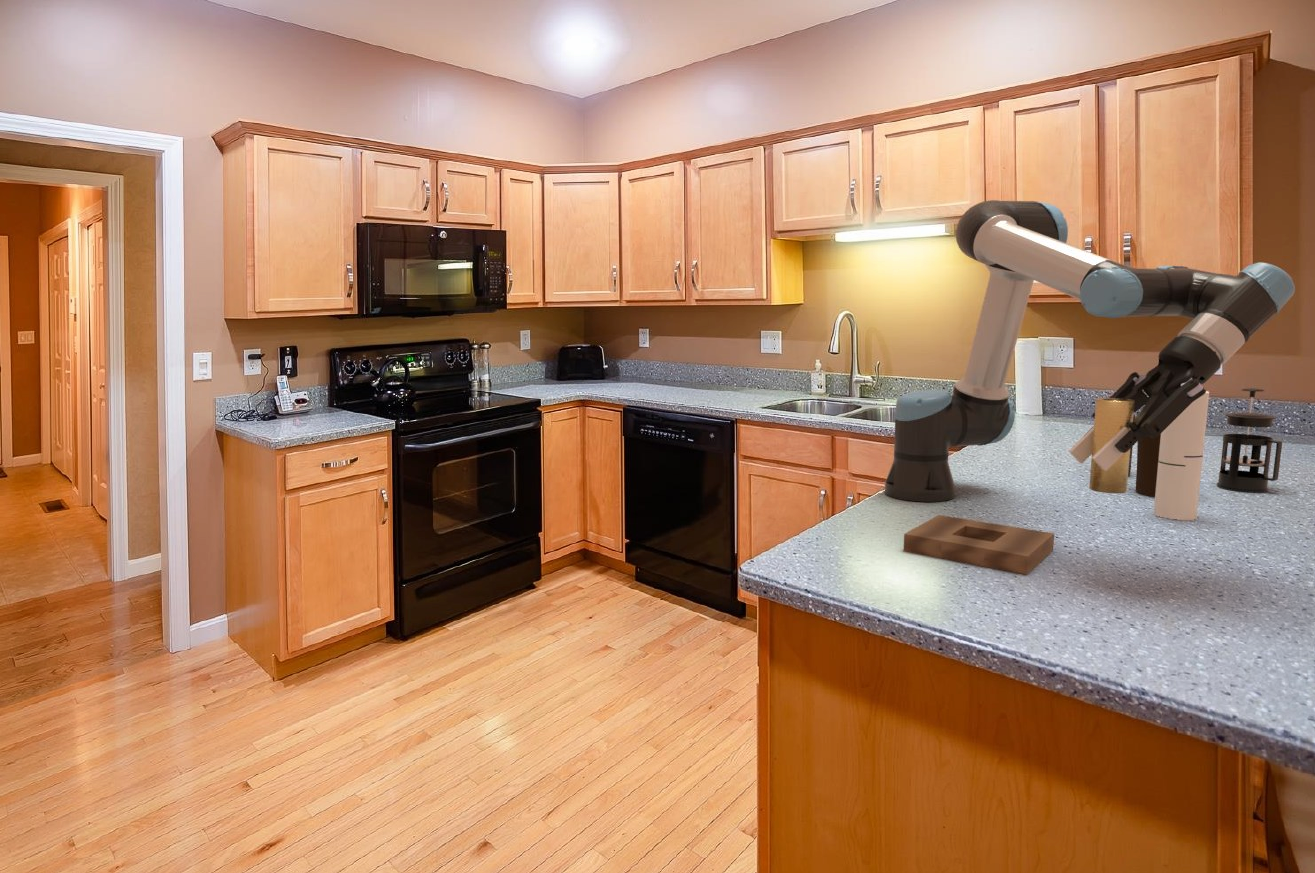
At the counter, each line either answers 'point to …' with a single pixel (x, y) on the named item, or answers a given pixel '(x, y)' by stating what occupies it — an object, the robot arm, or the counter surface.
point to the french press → (1246, 479)
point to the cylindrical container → (1181, 463)
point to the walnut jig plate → (980, 543)
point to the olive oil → (1147, 465)
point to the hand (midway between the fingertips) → (1087, 460)
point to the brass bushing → (1106, 425)
